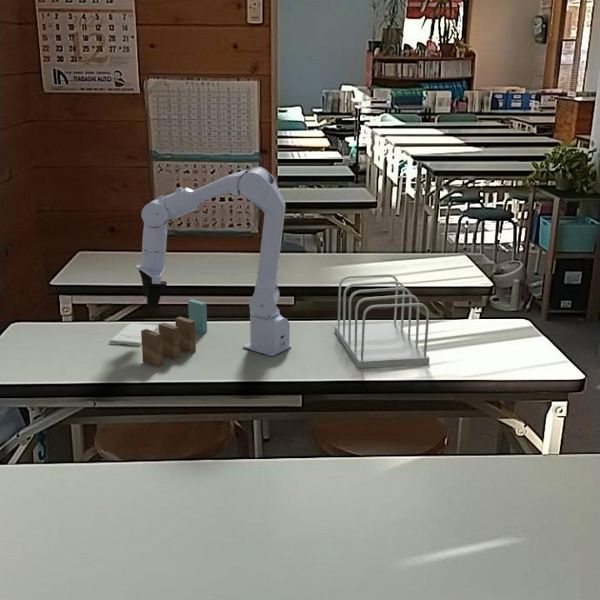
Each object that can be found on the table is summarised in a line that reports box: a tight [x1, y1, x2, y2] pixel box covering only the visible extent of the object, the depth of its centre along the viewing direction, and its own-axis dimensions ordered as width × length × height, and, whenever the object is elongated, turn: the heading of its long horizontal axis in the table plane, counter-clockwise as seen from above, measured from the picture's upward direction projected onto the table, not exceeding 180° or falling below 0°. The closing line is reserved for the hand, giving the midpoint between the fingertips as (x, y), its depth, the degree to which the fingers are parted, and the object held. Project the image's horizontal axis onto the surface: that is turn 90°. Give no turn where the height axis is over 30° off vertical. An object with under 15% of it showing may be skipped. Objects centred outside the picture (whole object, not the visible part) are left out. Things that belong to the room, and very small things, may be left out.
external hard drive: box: [109, 322, 159, 347], centre depth 190 cm, size 2×8×12 cm
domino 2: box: [158, 322, 181, 361], centre depth 176 cm, size 2×5×8 cm, turn 54°
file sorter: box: [333, 274, 430, 369], centre depth 182 cm, size 25×17×16 cm
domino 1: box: [141, 329, 164, 369], centre depth 172 cm, size 2×5×8 cm, turn 54°
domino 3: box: [174, 316, 197, 354], centre depth 180 cm, size 2×5×8 cm, turn 54°
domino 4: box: [187, 298, 208, 334], centre depth 193 cm, size 2×5×8 cm, turn 54°
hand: (150, 301), depth 183 cm, fingers open, 7 cm apart
